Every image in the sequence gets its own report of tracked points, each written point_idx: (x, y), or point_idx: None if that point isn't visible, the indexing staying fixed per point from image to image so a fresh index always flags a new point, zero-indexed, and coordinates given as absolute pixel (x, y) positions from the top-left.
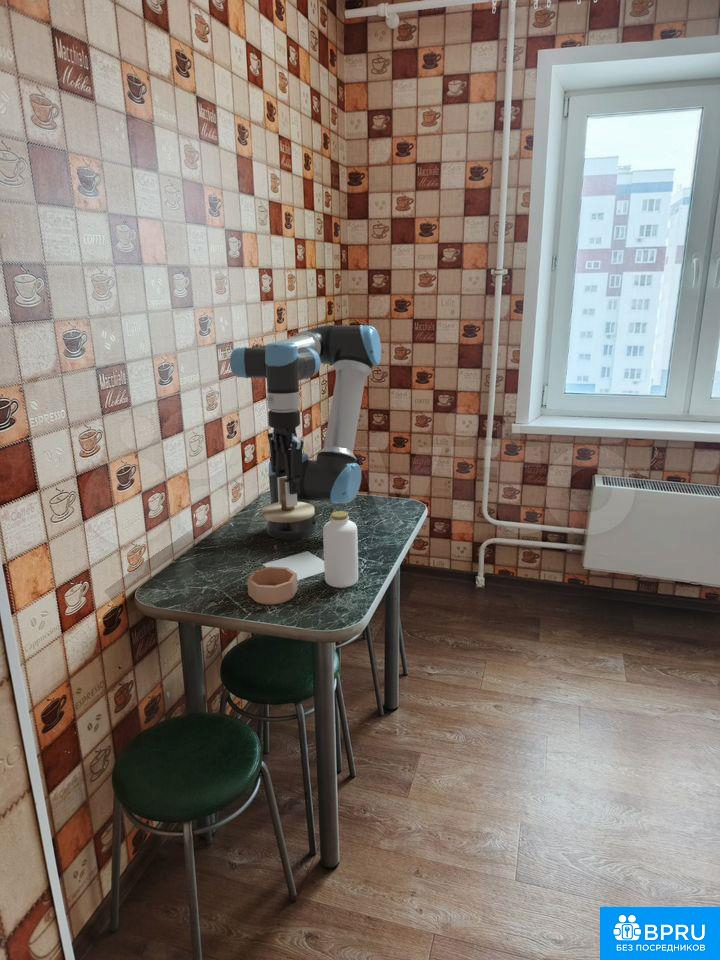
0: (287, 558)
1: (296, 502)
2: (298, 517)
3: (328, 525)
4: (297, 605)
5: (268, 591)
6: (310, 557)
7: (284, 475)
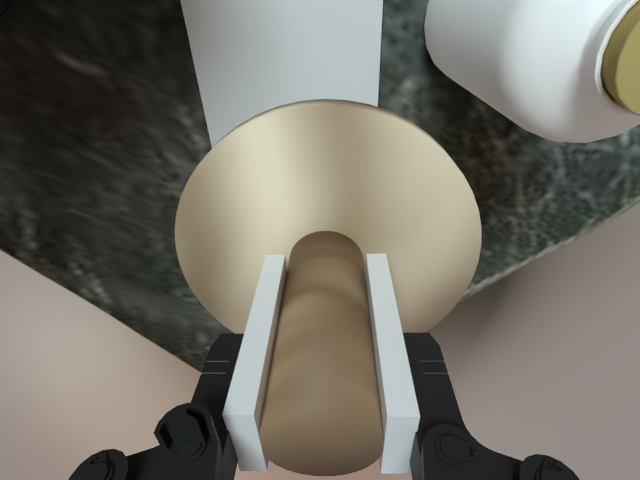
0: (210, 87)
1: (389, 271)
2: (470, 272)
3: (586, 124)
4: (485, 201)
5: None
6: (240, 5)
7: (228, 441)
